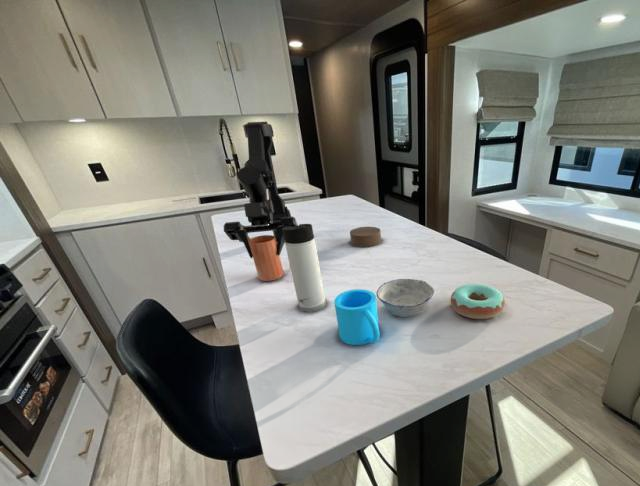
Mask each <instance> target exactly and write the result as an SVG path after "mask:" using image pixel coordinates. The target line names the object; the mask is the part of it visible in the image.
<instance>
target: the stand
mask: <svg viewBox="0 0 640 486" xmlns="http://www.w3.org/2000/svg"><path fill="white" fill-rule="evenodd" d="M381 231H382V230H381V228H379V227H376V226H361V227H360V226H359V227H356V228H352V229H351V230H350V231H349V237H350V244H351V245H352V246H354V247H357V248H358V247H359V248H368V247H369V248H370V247H375V246H377V245H379V244H381V243H382V232H381Z"/></svg>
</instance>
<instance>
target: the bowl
mask: <svg viewBox="0 0 640 486" xmlns="http://www.w3.org/2000/svg"><path fill="white" fill-rule="evenodd" d="M434 293H435V289H434V288H433V287H432V285H430V284H429V283H428V282H426V281H424V280H422V279H415V278H414V279H413V278H400V279H399V278H398V279H392V280H389V281H386V282H384V283H383V284H381V285H380V286H379V287H378V289H377V290H376V298H377V299H378V300H379V301H380V302H381V303H382V304H383V305H384V306H385V308H386V309H387V311H388V312H389V313H391V314H392V315H393V316H395V317H399V318H412V317H415V316H417V315H419V314H421V312H423V310H424V309H425V308H426V306H427V305H428V304H429V302H430V300H431V299H432V297H433V296H434Z"/></svg>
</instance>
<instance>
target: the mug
mask: <svg viewBox="0 0 640 486" xmlns="http://www.w3.org/2000/svg"><path fill="white" fill-rule="evenodd" d="M333 304H334V309H335V316H336V322H337V328H338V335H339V339H340V340H341V341H342V342H343V343H345V344H348V345H351V346H361V345H366V344H375V343H377V342H379V339H380V335H381V332H380V328H379V316H378V305H377V294H375V293H374V292H373V291H371V290H368V289H361V288H356V289H350V290H345V291H343V292H341V293H340V294H337V295H336V296H335V298H334V301H333Z"/></svg>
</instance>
